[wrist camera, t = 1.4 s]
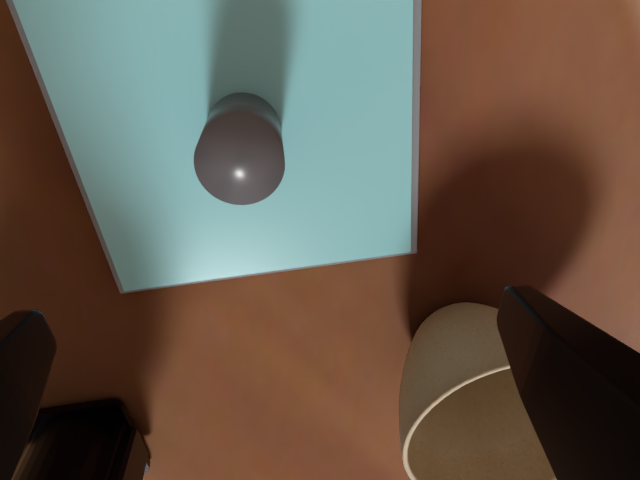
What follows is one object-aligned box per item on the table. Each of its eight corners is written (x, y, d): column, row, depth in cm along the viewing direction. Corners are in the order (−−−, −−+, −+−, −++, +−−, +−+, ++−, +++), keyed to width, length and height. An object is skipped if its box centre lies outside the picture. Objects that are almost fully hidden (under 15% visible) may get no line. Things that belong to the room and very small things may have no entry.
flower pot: (390, 260, 24) (435, 358, 18) (562, 269, 25) (659, 362, 19) (358, 395, 29) (384, 509, 22) (504, 395, 30) (567, 502, 24)
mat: (122, 289, 23) (120, 293, 22) (-16, -70, 15) (-22, -71, 15) (414, 249, 24) (416, 253, 23) (420, -113, 16) (423, -115, 16)
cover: (127, 284, 22) (97, 349, 18) (0, -54, 15) (-93, -68, 11) (407, 246, 23) (437, 301, 19) (409, -96, 16) (457, -121, 12)
